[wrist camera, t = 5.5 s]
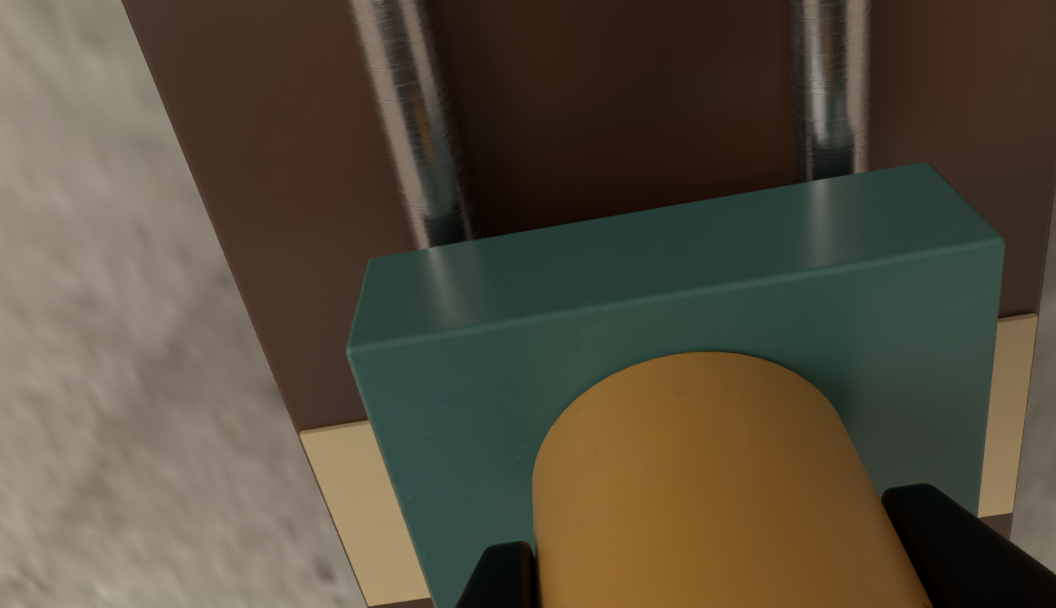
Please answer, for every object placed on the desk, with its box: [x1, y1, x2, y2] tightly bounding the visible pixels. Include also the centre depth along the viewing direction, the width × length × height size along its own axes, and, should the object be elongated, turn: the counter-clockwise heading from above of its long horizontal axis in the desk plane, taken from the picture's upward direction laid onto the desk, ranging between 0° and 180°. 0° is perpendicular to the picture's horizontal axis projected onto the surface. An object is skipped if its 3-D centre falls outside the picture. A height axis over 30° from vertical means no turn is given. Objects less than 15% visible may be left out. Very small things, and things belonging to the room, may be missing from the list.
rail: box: [122, 0, 1056, 608], centre depth 11 cm, size 10×14×3 cm
